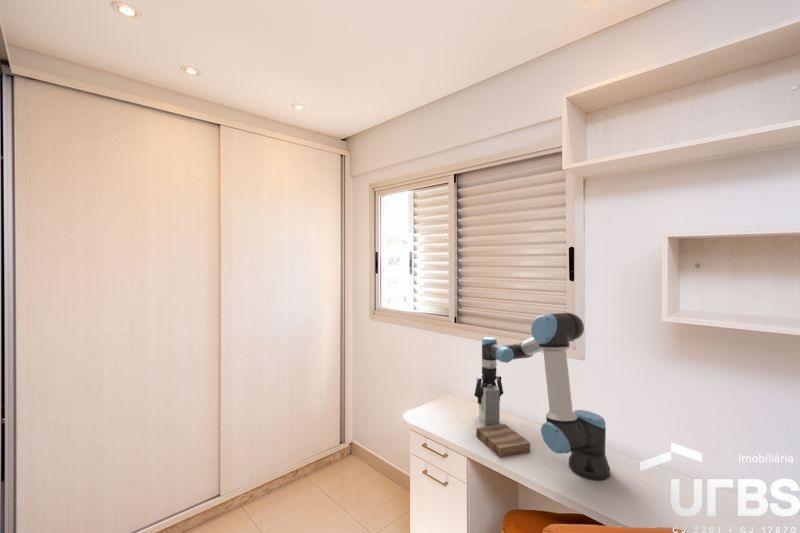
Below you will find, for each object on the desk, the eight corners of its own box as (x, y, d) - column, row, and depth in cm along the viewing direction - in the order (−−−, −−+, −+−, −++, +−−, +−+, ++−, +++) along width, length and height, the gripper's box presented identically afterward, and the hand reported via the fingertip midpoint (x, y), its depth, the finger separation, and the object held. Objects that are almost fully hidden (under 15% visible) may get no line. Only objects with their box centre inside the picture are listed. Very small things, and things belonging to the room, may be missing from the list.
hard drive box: (499, 429, 181) (500, 390, 181) (484, 429, 181) (484, 390, 181) (492, 416, 197) (492, 380, 196) (478, 416, 197) (478, 380, 196)
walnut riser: (530, 451, 160) (530, 442, 160) (499, 457, 155) (499, 448, 155) (504, 431, 179) (504, 423, 179) (476, 436, 174) (476, 428, 174)
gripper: (502, 363, 195) (502, 403, 196) (467, 366, 189) (467, 408, 189) (510, 366, 188) (510, 408, 189) (474, 370, 182) (474, 414, 182)
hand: (488, 408), depth 189 cm, fingers closed on hard drive box, 9 cm apart
